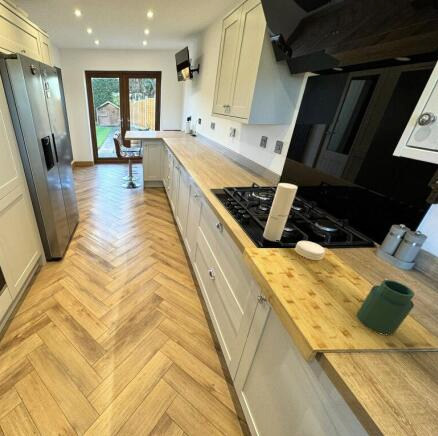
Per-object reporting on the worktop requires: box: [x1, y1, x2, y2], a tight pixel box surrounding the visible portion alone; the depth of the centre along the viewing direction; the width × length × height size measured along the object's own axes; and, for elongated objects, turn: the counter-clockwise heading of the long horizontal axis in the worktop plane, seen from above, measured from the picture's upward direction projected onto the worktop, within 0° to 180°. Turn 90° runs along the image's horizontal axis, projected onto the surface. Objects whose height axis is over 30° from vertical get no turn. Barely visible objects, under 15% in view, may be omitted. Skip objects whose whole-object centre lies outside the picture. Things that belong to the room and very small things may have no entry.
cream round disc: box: [294, 240, 326, 261], centre depth 97 cm, size 10×10×4 cm
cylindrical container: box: [262, 182, 298, 242], centre depth 103 cm, size 7×7×25 cm
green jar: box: [356, 279, 415, 336], centre depth 64 cm, size 8×8×13 cm
